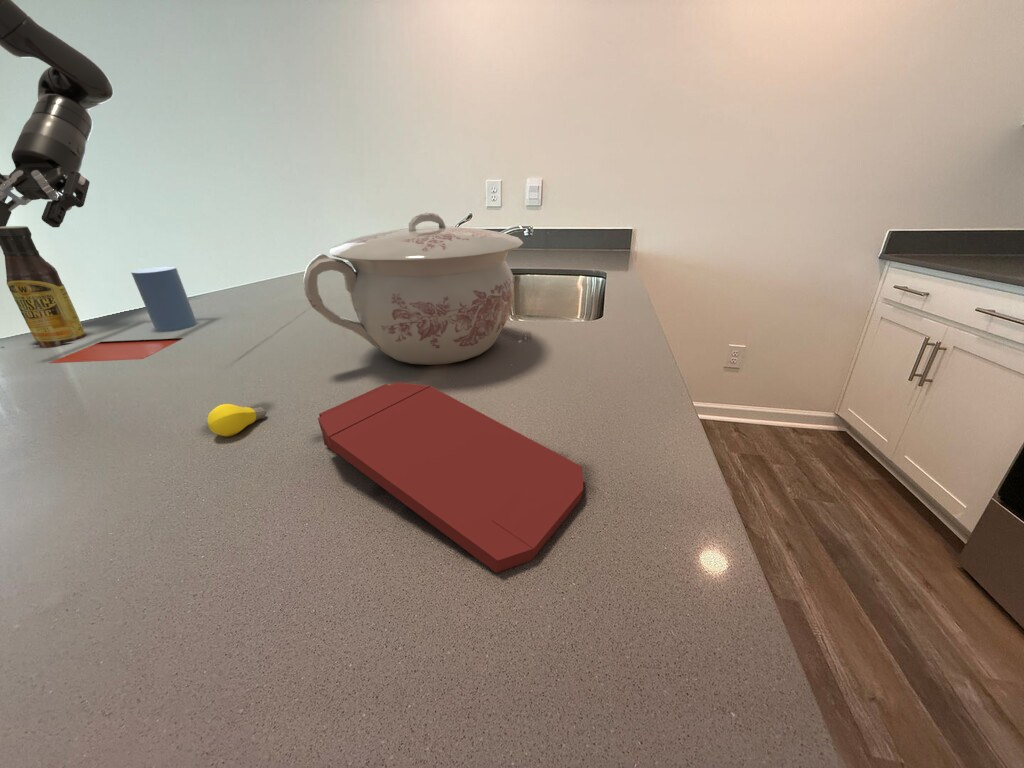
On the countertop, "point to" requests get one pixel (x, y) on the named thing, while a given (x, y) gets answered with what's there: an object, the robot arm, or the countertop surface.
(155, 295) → the blue can
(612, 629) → the countertop surface
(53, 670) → the countertop surface
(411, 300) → the chamber pot
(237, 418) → the light bulb
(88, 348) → the board
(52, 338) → the sauce bottle
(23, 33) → the robot arm
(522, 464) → the red chamfered slab
